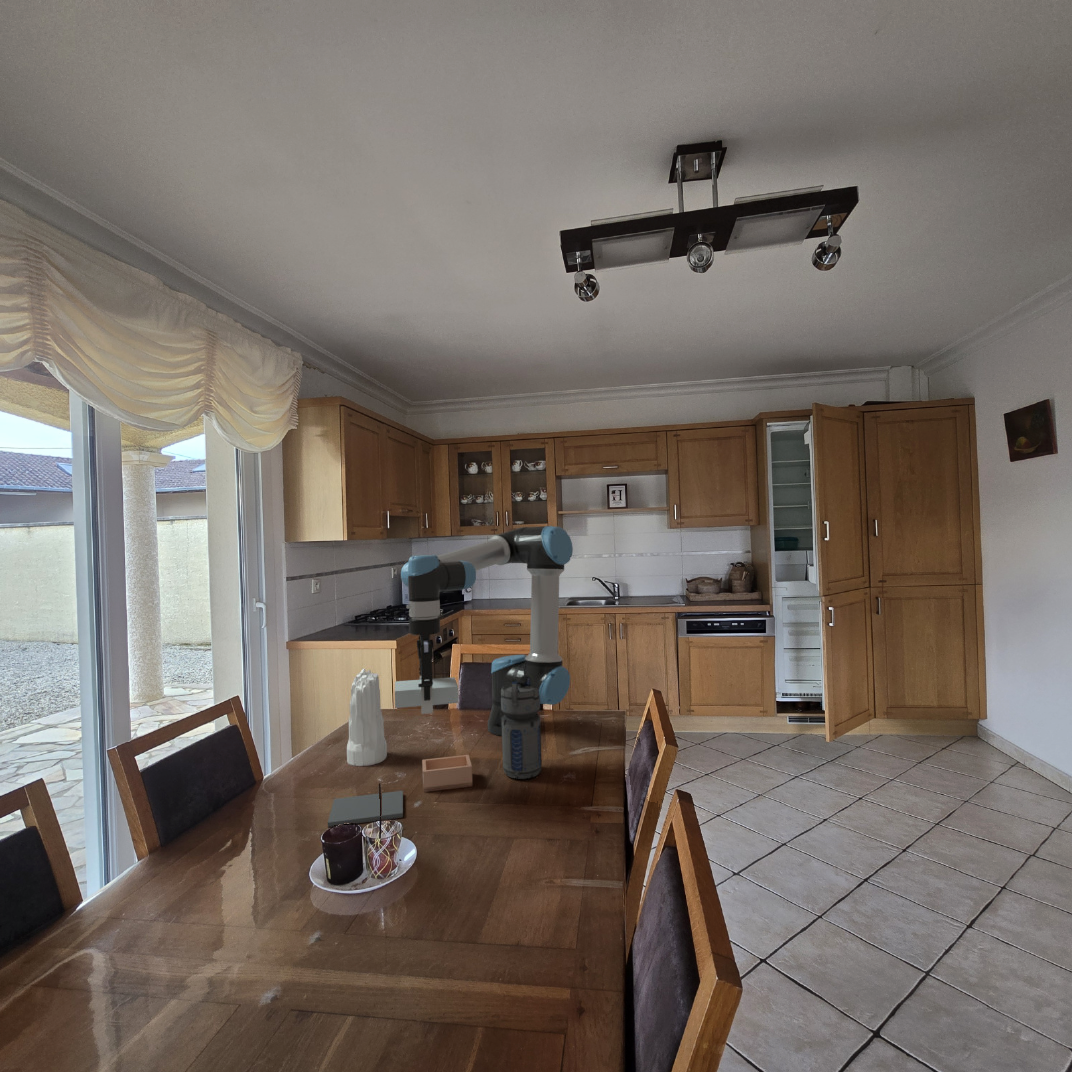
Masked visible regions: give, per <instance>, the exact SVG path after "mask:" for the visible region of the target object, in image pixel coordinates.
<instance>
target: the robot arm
mask: <svg viewBox="0 0 1072 1072" xmlns="http://www.w3.org/2000/svg"><path fill="white" fill-rule="evenodd" d="M573 549H574V548H573V542H572V538H571V537H570V535H569V534H568V532H567V531H566V530H565V529H564V528H562V527H561V526H552V525H546V526H528V527H527V526H524V527H523V526H522V527H518V528H515V529H511V530H508V531H505V532H501V533H499V534H497V535H493V536H491V537H490V538H489V540H487V541H484V542H480V543H477V544H474V545H470V546H467V547H463V548H459V549H458V550H453V551H450V552H447V553H446V552H445V553H443V554H440V555H436V554H435V555H432V554H428V555H426V554H424V555H411V556H410V557H409V559H408V562H406V563H405V564H403V566H402V568H401V571H400V579H401V581H402V584H403V585H405V587H407V588H408V589H407V590H408V604H406V607H405V608H406V609H407V610H408V609H409V610H408V615H409V617H410V619H409V620H408V624H409V625H408V627H409V628H408V629H409V634H411V635H412V636H418V640H416V648H417V655H418V662H419V668H418V671H419V680H421V681H422V682H421V684H418V687H421V706H420V708H421V709H420V711H421V715H425V714H426V715H427V714H434V708H433V707H434V705H433V687H432V685H433V681H432V679H433V661H432V660H433V658H434V653H433V649H434V641H433V640H434V639H431V635H436V634H439V633H440V632H441V619H440V618H439V616H440V615H441V603H440V593H442V592H449V591H463V590H466V589H470V588H472V587H473V586H474V584H475V583H476V581H477V571H480V570H482V569H485V568H489V567H491V566H494V565H496V566H504V565H507V564H526V569H527V571H528V572H529V573H530V575H531V588H530V589H531V591H530V593H531V595H530V596H531V597H530V632H529V633H530V638H529V653H528V654H527V655H526V654H514V655H513V654H512V655H506V656H500V657H498V658H495V659H493V661H492V662H491V671H490V676H491V696H492V697H491V698H492V707H491V710H490V714H489V718H488V719H487V731H488V732H489V733H490V734H492V735H496V736H500V737H502V717H503V716H504V715H505V714H504V713H503V711H502V710H501V689H502V687H504V688H503V689H504V690H505V689H507V688H509V687H512V682H519V681H520V678H521V677H522V676H523V675H527V676H529V678H530V685H531V687H533V688H538V690H539V696H540V705H551V706H554V705H557V704H559V703H561V702H562V701H563V700H564V699H565V697H566V695H567V693H568V692H569V689H570V685H571V673H570V672H569V670H568V668H566V667H565V666H563V661H564V659H563V658H562V656H560V654H559V653H558V651H559V613H560V611H559V610H560V609H559V608H560V607H559V606H560V603H559V602H560V576H561V575H562V573H564V571H565V565H566V564H568V563H569V562H570V561H571V558H572V556H573V551H574V550H573ZM424 680H428V681H424ZM518 686H520V684H518Z"/></svg>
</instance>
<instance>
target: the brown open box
mask: <svg viewBox="0 0 1072 1072" xmlns="http://www.w3.org/2000/svg"><path fill="white" fill-rule="evenodd" d="M470 758H471V757H470V754H464V755H455V756H454V755H453V756H445V757H436V758H427V759H422V760H421V763H422V768H421V769H422V787H423V792H424V793H428V792H436V791H444V790H452V789H460V788H467V787H468V788H469V787H473V766H472V762H471V759H470Z"/></svg>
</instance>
